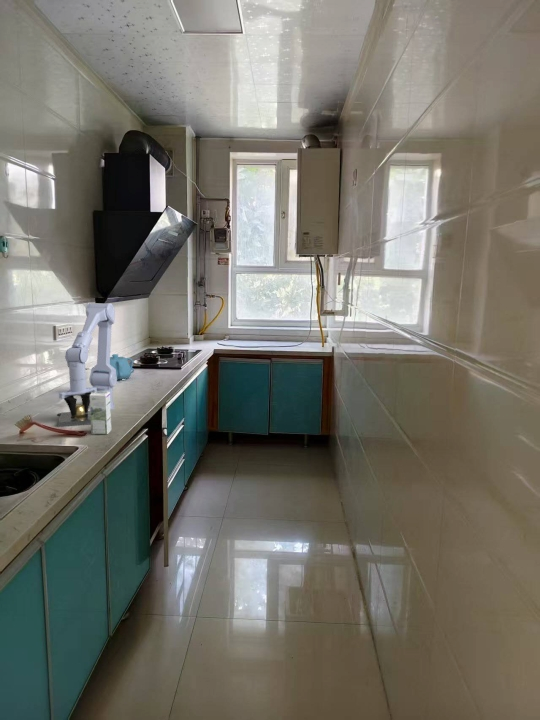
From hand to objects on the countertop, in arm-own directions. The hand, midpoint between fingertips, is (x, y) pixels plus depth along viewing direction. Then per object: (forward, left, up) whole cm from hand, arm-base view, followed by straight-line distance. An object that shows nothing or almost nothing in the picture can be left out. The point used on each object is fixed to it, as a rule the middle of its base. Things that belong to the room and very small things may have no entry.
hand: (79, 413), depth 195 cm
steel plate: (0, 0, -3) cm, 3 cm away
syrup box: (+17, +8, -3) cm, 19 cm away
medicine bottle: (-47, +1, -3) cm, 47 cm away
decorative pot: (-80, +15, -3) cm, 81 cm away
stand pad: (-11, -6, -3) cm, 12 cm away
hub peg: (0, 0, -3) cm, 3 cm away
